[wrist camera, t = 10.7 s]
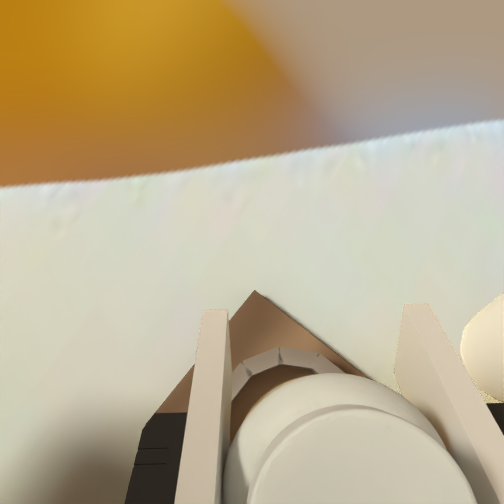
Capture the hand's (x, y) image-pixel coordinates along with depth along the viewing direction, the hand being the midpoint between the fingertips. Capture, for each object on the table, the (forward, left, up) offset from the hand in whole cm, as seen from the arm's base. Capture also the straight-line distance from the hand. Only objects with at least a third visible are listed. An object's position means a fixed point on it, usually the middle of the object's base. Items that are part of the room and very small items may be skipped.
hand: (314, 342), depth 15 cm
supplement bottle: (+2, -3, -4) cm, 5 cm away
